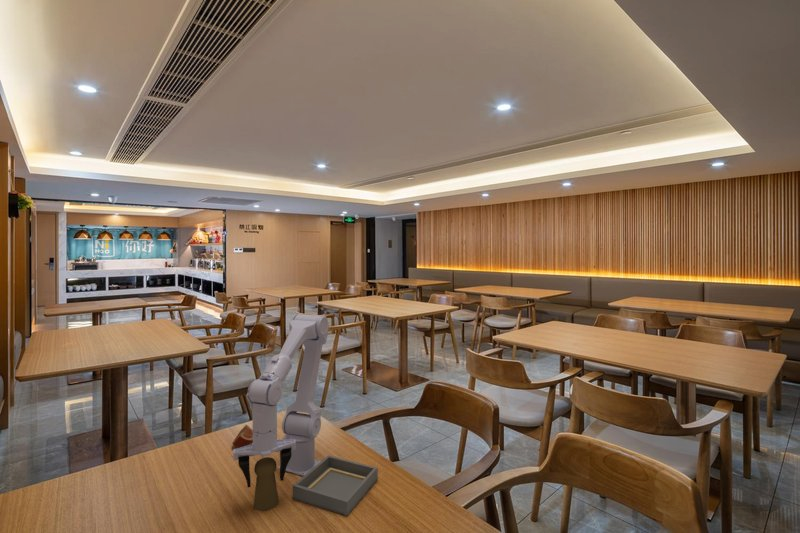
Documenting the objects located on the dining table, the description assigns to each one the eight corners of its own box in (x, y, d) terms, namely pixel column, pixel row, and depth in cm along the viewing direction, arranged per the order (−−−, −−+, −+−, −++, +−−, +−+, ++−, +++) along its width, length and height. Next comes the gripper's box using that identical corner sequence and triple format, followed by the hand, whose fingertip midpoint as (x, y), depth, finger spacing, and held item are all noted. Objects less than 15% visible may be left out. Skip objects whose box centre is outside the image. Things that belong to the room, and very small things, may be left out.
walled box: (292, 498, 102) (292, 485, 102) (328, 466, 116) (328, 455, 116) (347, 516, 95) (347, 502, 95) (377, 480, 110) (377, 467, 110)
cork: (270, 512, 97) (270, 468, 96) (248, 509, 98) (247, 465, 97) (283, 497, 102) (282, 455, 102) (261, 494, 104) (260, 452, 103)
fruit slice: (237, 439, 133) (236, 424, 133) (258, 437, 134) (257, 423, 133) (229, 452, 125) (229, 436, 124) (251, 450, 125) (251, 435, 125)
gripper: (232, 440, 93) (233, 497, 93) (297, 430, 98) (297, 484, 99) (233, 427, 99) (234, 481, 100) (293, 418, 105) (294, 469, 105)
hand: (265, 481), depth 100 cm, fingers open, 7 cm apart
